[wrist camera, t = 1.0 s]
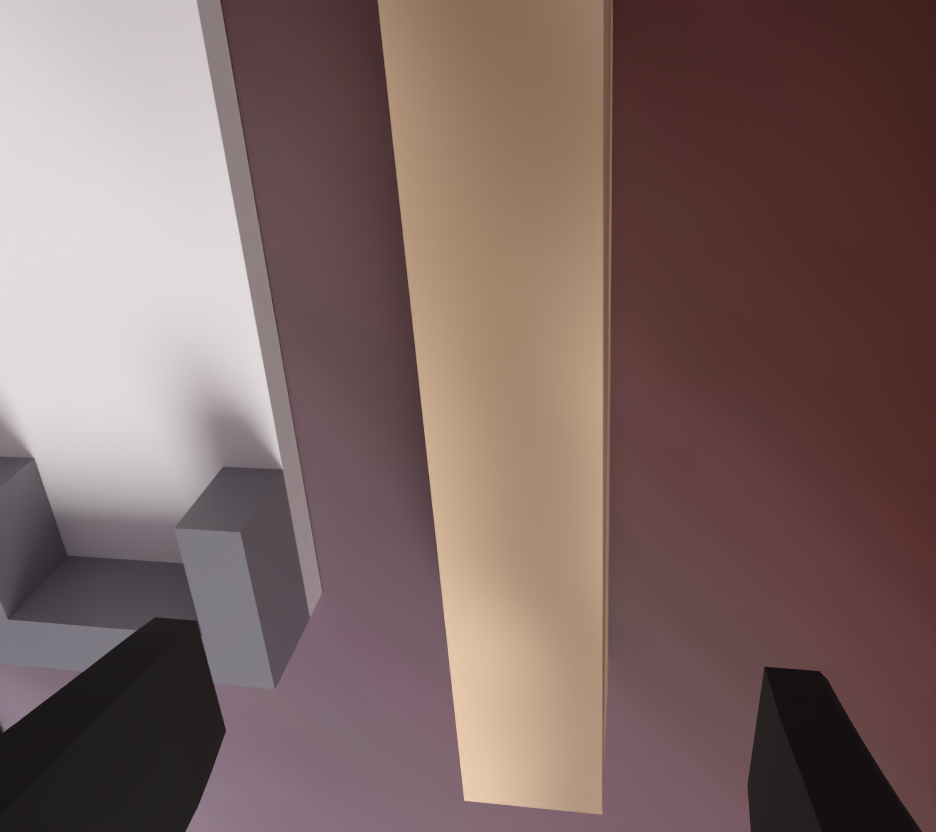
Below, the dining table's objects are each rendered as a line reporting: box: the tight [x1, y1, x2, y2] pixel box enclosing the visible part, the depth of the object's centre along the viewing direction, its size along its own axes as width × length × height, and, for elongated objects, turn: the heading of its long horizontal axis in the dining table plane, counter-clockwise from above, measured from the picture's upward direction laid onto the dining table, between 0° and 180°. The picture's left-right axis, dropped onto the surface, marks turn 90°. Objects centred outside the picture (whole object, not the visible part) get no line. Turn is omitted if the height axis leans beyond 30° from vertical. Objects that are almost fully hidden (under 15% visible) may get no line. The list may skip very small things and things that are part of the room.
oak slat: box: [378, 0, 613, 814], centre depth 17 cm, size 3×16×5 cm, turn 4°
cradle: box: [0, 0, 322, 690], centre depth 18 cm, size 8×21×4 cm, turn 3°
